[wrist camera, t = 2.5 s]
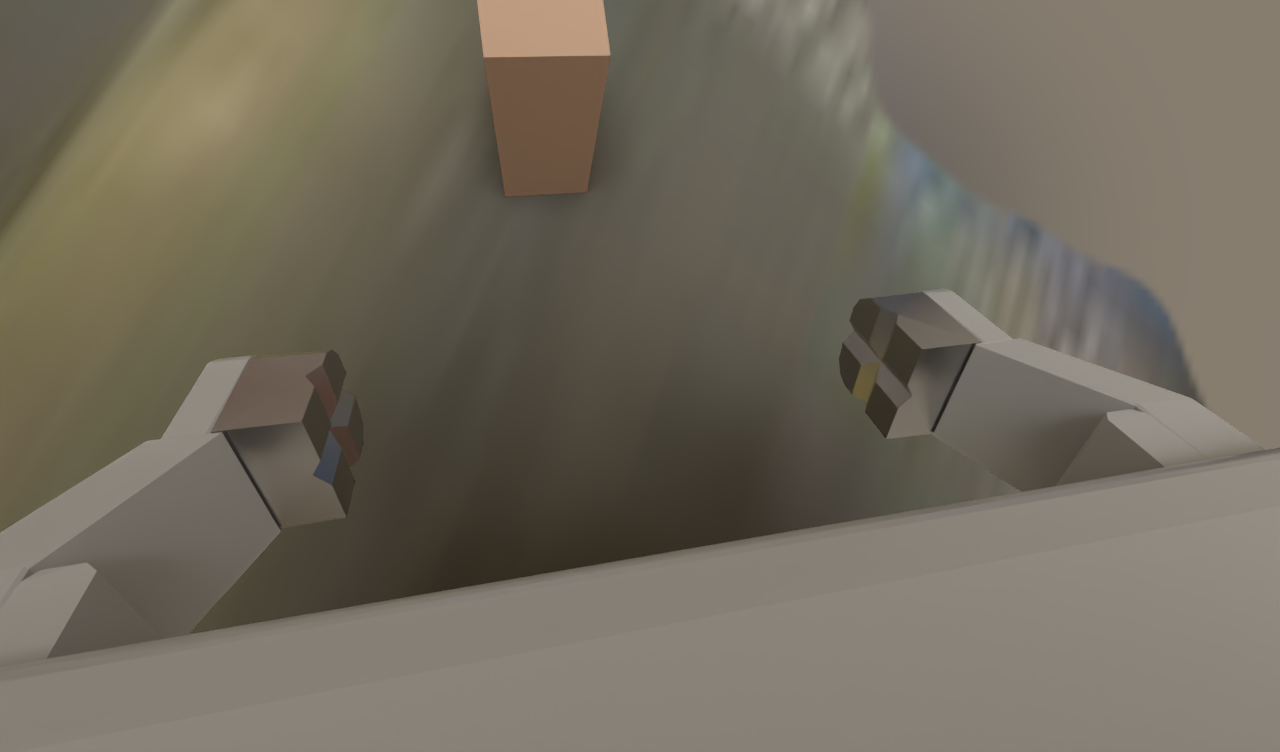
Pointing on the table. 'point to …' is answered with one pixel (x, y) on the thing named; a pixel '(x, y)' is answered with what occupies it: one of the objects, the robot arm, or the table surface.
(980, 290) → the table surface
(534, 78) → the tan rectangular block
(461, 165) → the table surface
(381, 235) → the table surface
